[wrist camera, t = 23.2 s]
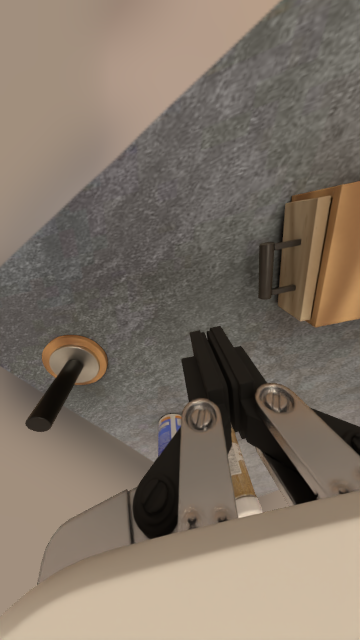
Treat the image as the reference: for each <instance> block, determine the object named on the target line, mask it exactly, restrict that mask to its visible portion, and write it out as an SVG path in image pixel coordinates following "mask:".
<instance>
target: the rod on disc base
mask: <svg viewBox="0 0 360 640" xmlns="http://www.w3.org/2000/svg"><path fill="white" fill-rule="evenodd" d="M49 364H50V367H51V369H52V371H53V372H54V373H55V374H56V375H57V377H56V378H55V380H54V381H53V383H52V384H51V385H50V387H49V388H48V390H47V391H46V393H45V394H44V396H43V397H42V398H41V400H40V401H39V403H38V404H37V406H36V407H35V409H34V410H33V411H32V413H31V414H30V416H29V417H28V419H27V420H26V426H27V427H28V428H29V429H31V430H33V431H37V432H44V431H47V430H49V429H50V428H51V426H52V424H53V422H54V421H55V419H56V417H57V415H58V413H59V411H60V410H61V408H62V406H63V404H64V402H65V401H66V399H67V397H68V395H69V393H70V391H71V390H72V388H73V386H74V384H75V383H82V382H87V381H90V380H92V379H93V378H94V377H95V376H96V375H97V374H98V372H99V369H100V362H99V359H98V358H97V356H96V355H95V354H94V353H93V352H92V351H91V350H89V349H87V348H85V347H83V346H79V345H64V346H61V347H59V348H57V349H56V350H55V351H54V352H53V353H52V355H51V356H50V359H49Z"/></svg>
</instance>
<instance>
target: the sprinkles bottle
mask: <svg viewBox="0 0 360 640" xmlns="http://www.w3.org/2000/svg"><path fill="white" fill-rule="evenodd" d="M231 431H232V433H231V436H232V447H231V449H230V451H229V453H228V460H229V466H230V472H231V478H232V483H233V489H234V495H235V501H236V507H237V513H238V518H241V517H246V516H250V515H254V514H259V513H263V512H262V509H261V506H260V503H259V500H258V499H257V498H256V497H257V496H256V495H255V492H254V489H253V486H252V483H251V480H250V477H249V474H248V471H247V468H246V465H245V462H244V459H243V456H242V453H241V450H240V447H239V445H238V442H237V439H236V436H235V432H234V430H233V429H232V428H231Z"/></svg>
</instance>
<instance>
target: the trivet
mask: <svg viewBox="0 0 360 640" xmlns="http://www.w3.org/2000/svg"><path fill="white" fill-rule="evenodd" d="M64 345H79V346H83V347H85V348H87V349H89V350H91V351H92V352H93V353H94V354H95V355H96V356H97V358H98V359H99V362H100V369H99V372H98V374H97V375H96V376H95V377H94V378H93V379H92V380H90V381H87V382H82V383H75V384H74V385H85V384H90V383H93V382H95V381H97V380H99V379H100V378H101V377H102V376H103V375H104V373H105V371H106V369H107V365H108V360H107V356H106V353H105V352H104V350H103V349H102V348H101V347H100V346H99V345H98V344H97V343H96V342H94V341H92V340H90V339H88V338H86V337H83V336H78V335H64V336H60V337H57V338H55V339H53V340H52V341H51V342H50V343H49V344H48V345H47V346H46V347H45V348H44V350H43V353H42V361H43V364H44V366H45V368H46V370H47V371H48V372H49V373H50V374H51V375H52V376H54V377H55V378H56V377H57V375H56V374H55V373H54V372H53V371H52V369H51V367H50V364H49V359H50V356H51V355H52V353H53V352H54V351H55V350H56V349H57V348H59V347H61V346H64Z"/></svg>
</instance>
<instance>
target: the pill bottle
mask: <svg viewBox="0 0 360 640" xmlns="http://www.w3.org/2000/svg"><path fill="white" fill-rule="evenodd" d="M180 427H181V415H179V414H168V415H165V416H164V417H162V418H161V419H160V421H159V440H158V457H159V455H160V454H161V453H162V451H163V450H164V449H165V447H166V446H167V445H168V443H169V442H170V440H171V439H172V438H173V436H174V435H175V434H176V432H177V431H178V429H179V428H180Z"/></svg>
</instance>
